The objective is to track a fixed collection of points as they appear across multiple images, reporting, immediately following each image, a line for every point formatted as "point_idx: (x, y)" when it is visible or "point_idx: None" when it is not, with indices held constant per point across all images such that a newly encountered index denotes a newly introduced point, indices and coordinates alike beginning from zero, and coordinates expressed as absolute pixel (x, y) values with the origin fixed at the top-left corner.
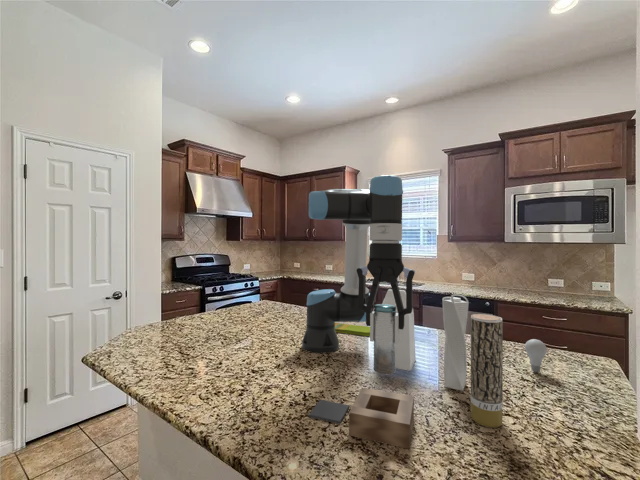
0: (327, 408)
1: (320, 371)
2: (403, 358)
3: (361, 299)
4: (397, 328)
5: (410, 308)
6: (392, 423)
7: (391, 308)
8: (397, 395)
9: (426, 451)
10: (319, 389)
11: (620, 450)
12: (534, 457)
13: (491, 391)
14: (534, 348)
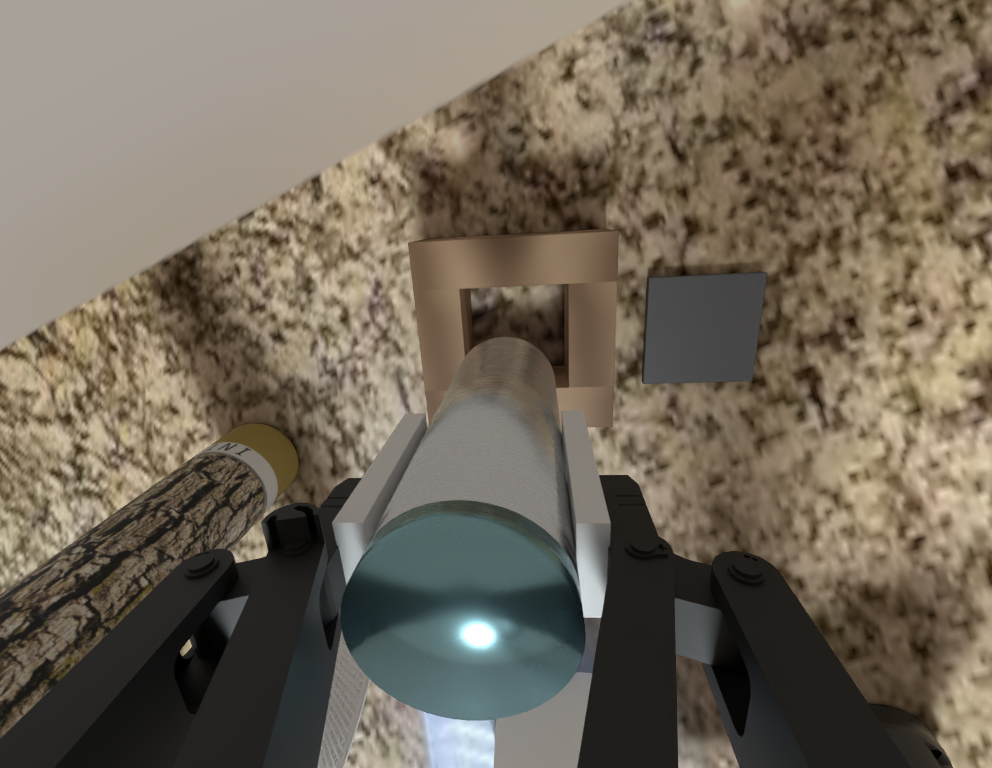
0: (711, 335)
1: (802, 576)
2: None
3: (783, 655)
4: (377, 462)
5: (168, 587)
6: (464, 239)
7: (365, 558)
8: None
9: (382, 249)
10: (773, 455)
11: (8, 439)
12: (153, 336)
13: (177, 472)
14: None
